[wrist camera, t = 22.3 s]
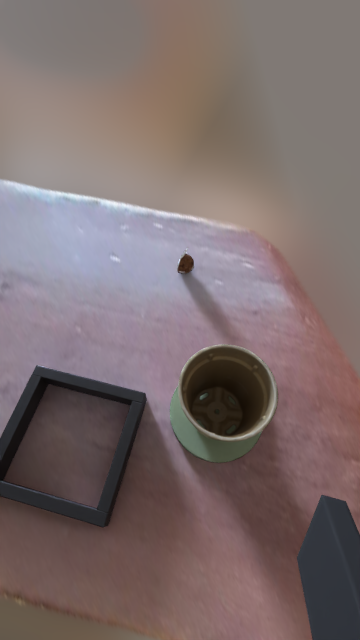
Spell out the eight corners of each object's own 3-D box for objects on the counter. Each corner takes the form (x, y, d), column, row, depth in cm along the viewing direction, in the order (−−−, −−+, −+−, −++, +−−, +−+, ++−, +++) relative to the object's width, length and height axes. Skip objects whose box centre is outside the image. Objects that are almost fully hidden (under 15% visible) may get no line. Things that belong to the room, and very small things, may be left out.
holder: (108, 526, 34) (103, 527, 31) (-13, 489, 35) (-26, 488, 33) (146, 399, 40) (145, 393, 38) (43, 372, 41) (36, 364, 39)
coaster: (199, 482, 36) (200, 482, 35) (153, 394, 40) (153, 392, 40) (281, 431, 39) (283, 430, 38) (229, 354, 43) (230, 352, 43)
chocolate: (187, 281, 49) (188, 263, 45) (173, 274, 49) (174, 257, 46) (196, 267, 50) (198, 249, 47) (183, 261, 51) (184, 243, 47)
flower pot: (199, 360, 42) (205, 328, 34) (269, 396, 40) (291, 370, 32) (161, 428, 38) (159, 408, 30) (237, 471, 36) (255, 462, 28)
